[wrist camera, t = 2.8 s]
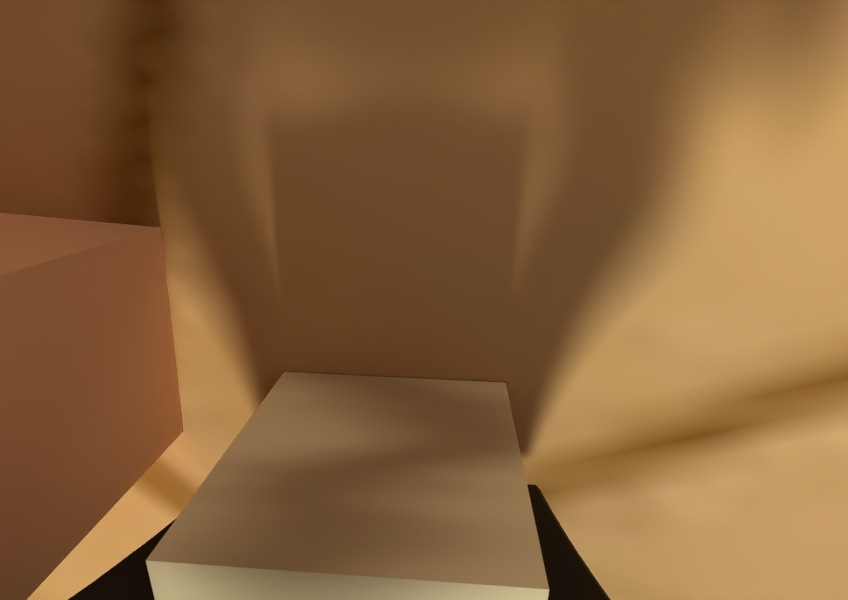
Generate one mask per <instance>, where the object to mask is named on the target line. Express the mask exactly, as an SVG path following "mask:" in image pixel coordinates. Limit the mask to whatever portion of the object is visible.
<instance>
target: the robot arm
mask: <svg viewBox="0 0 848 600" xmlns="http://www.w3.org/2000/svg"><path fill="white" fill-rule="evenodd" d="M527 486H528V491H529V496H530V500H531V505H532V510H533V515H534V519H535V524H536V529H537V534H538V538H539V543H540V548H541V553H542V557H543V562H544V567H545V572H546V576H547V581H548V586H549V595H548V600H610V598H609V597H608V596H607V594H606V593H605V592H604V590H603V589H602V587H601V586H600V585H599V583H598V582H597V580H596V579H595V577H594V576H593V574H592V573H591V571H590V570H589V568H588V567H587V566H586V564H585V563H584V561H583V560H582V558H581V557H580V555H579V554H578V552H577V551H576V549H575V548H574V546H573V545H572V543H571V541H570V540H569V538H568V537H567V535H566V533H565V532H564V530H563V529H562V527H561V525H560V524H559V522H558V520H557V519H556V517H555V515H554V514H553V512H552V510H551V508H550V507H549V505H548V503H547V501H546V500H545V498H544V496H543V494H542V492H541V490H540V489H539V488H538V487H537V486H536V485H528V484H527ZM176 519H177V518H176ZM176 519H175V520H176ZM175 520H174V521H175ZM174 521H173V522H171V523H170V524H169V525H168V526H166V527H165V528H164V529H163V530H161V531H160V532H159V533H158V534H156V535H155V536H154V537H153V538H151V539H150V540H149V541H148V542H146V543H145V544H144V545H142V546H141V547H140V548H138V549H137V550H136V551H134V552H133V553H132V554H130V555H129V556H128V557H126V558H125V559H123V560H122V561H121V562H119V563H118V564H117V565H115V566H114V567H113V568H111V569H110V570H109V571H107V572H106V573H105V574H103V575H102V576H101V577H99V578H98V579H97V580H95V581H94V582H93V583H91V584H90V585H88V586H87V587H86V588H84V589H83V590H81V591H80V592H78V593H77V594H76V595H74V596H73V597H71V598H70V599H68V600H155V598H154V594H153V590H152V586H151V581H150V577H149V573H148V569H147V564H146V559H147V558H148V557H149V555H150V554H151V553H152V551H153V550H154V548H155V547H156V546H157V544H158V543H159V542H160V540H161V539H162V538H163V536H164V535H165V533H166V532H167V531H168V529H169V528H170V527H171V525H172V524H173V523H174Z"/></svg>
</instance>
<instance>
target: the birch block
mask: <svg viewBox="0 0 848 600" xmlns="http://www.w3.org/2000/svg"><path fill="white" fill-rule="evenodd" d="M146 564H147V569H148V573H149V577H150V581H151V586H152V590H153V594H154V598H155V600H548V595H549V586H548V581H547V576H546V572H545V567H544V562H543V557H542V553H541V548H540V543H539V538H538V534H537V529H536V524H535V519H534V515H533V510H532V505H531V500H530V496H529V491H528V486H527V481H526V477H525V472H524V467H523V462H522V458H521V453H520V448H519V443H518V439H517V434H516V429H515V424H514V420H513V415H512V410H511V405H510V401H509V396H508V391H507V386H506V383H505V382H485V381H464V380H444V379H423V378H403V377H382V376H362V375H341V374H321V373H300V372H284V373H283V374H282V375H281V377H280V378H279V380H278V381H277V382H276V384H275V385H274V386H273V388H272V389H271V390H270V392H269V393H268V395H267V396H266V397H265V399H264V400H263V401H262V403H261V404H260V405H259V407H258V408H257V410H256V411H255V412H254V414H253V415H252V416H251V418H250V419H249V420H248V422H247V423H246V425H245V426H244V427H243V429H242V430H241V431H240V433H239V434H238V435H237V437H236V438H235V439H234V441H233V442H232V444H231V445H230V446H229V448H228V449H227V450H226V452H225V453H224V454H223V456H222V457H221V459H220V460H219V461H218V463H217V464H216V465H215V467H214V468H213V469H212V471H211V472H210V474H209V475H208V476H207V478H206V479H205V480H204V482H203V483H202V484H201V486H200V487H199V489H198V490H197V491H196V493H195V494H194V495H193V497H192V498H191V499H190V501H189V502H188V504H187V505H186V506H185V508H184V509H183V510H182V512H181V513H180V514H179V516H178V517H177V519H176V520H175V521H174V523H173V524H172V525H171V527H170V528H169V529H168V531H167V532H166V533H165V535H164V536H163V538H162V539H161V540H160V542H159V543H158V544H157V546H156V547H155V548H154V550H153V551H152V553H151V554H150V555H149V557H148V558H147V559H146Z"/></svg>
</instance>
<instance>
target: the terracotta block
mask: <svg viewBox="0 0 848 600" xmlns="http://www.w3.org/2000/svg"><path fill="white" fill-rule="evenodd" d="M182 432H183V424H182V415H181V406H180V397H179V388H178V379H177V370H176V361H175V352H174V343H173V334H172V325H171V316H170V307H169V298H168V289H167V280H166V271H165V262H164V253H163V244H162V234H161V227H151V226H140V225H129V224H118V223H107V222H96V221H85V220H74V219H64V218H53V217H42V216H31V215H20V214H9V213H0V600H26V599H27V598H28V597H29V596H30V595H31V594H32V593H33V592H34V591H35V590H36V589H37V588H38V587H39V585H40V584H41V583H42V582H43V581H44V580H45V579H46V578H47V577H48V576H49V575H50V574H51V573H52V572H53V570H54V569H55V568H56V567H57V566H58V565H59V564H60V563H61V562H62V561H63V560H64V559H65V558H66V556H67V555H68V554H69V553H70V552H71V551H72V550H73V549H74V548H75V547H76V546H77V545H78V544H79V543H80V541H81V540H82V539H83V538H84V537H85V536H86V535H87V534H88V533H89V532H90V531H91V530H92V529H93V528H94V526H95V525H96V524H97V523H98V522H99V521H100V520H101V519H102V518H103V517H104V516H105V515H106V514H107V512H108V511H109V510H110V509H111V508H112V507H113V506H114V505H115V504H116V503H117V502H118V501H119V500H120V499H121V497H122V496H123V495H124V494H125V493H126V492H127V491H128V490H129V489H130V488H131V487H132V486H133V485H134V483H135V482H136V481H137V480H138V479H139V478H140V477H141V476H142V475H143V474H144V473H145V472H146V471H147V470H148V468H149V467H150V466H151V465H152V464H153V463H154V462H155V461H156V460H157V459H158V458H159V457H160V456H161V455H162V453H163V452H164V451H165V450H166V449H167V448H168V447H169V446H170V445H171V444H172V443H173V442H174V441H175V439H176V438H177V437H178V436H179V435H180V434H181V433H182Z"/></svg>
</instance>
